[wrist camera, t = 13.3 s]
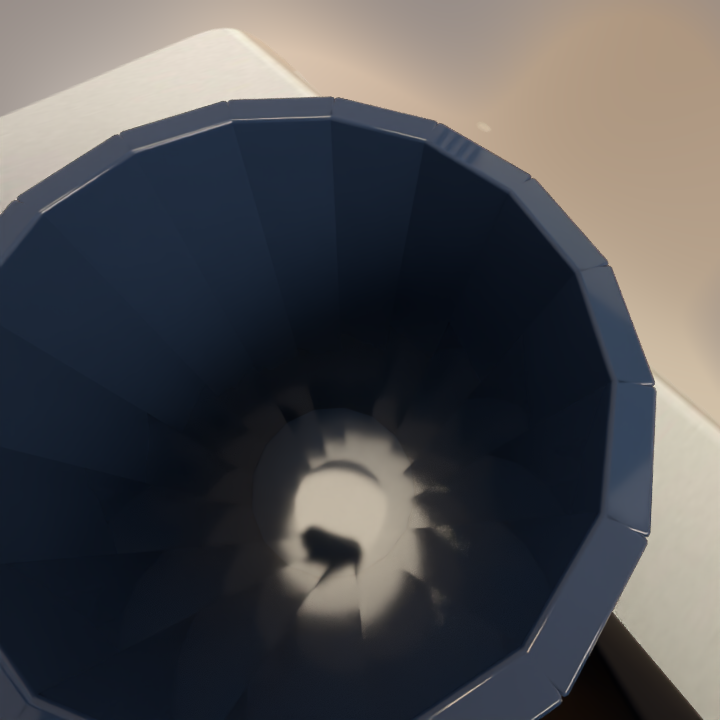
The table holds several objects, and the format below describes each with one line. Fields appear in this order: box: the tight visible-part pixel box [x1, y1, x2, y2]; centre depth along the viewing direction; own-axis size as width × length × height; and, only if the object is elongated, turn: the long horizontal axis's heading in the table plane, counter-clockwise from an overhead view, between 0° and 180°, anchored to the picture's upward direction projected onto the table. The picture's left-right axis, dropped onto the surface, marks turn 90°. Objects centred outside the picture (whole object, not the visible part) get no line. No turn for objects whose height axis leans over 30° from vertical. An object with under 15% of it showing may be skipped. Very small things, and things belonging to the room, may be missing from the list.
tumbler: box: [0, 97, 656, 720], centre depth 10 cm, size 7×7×13 cm
